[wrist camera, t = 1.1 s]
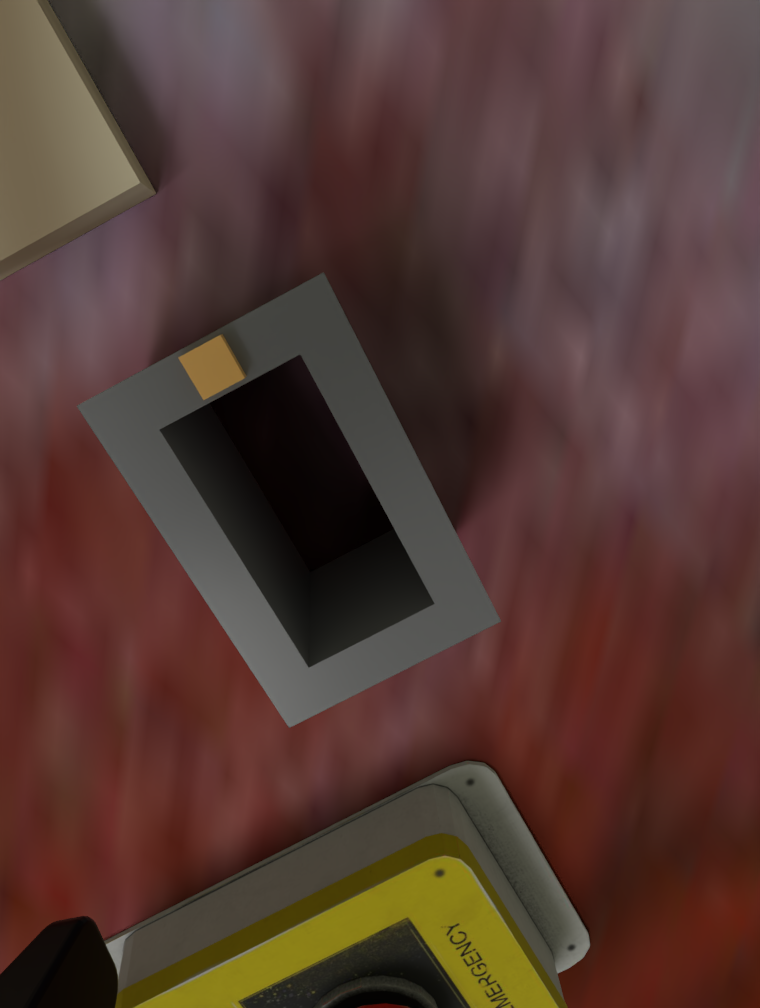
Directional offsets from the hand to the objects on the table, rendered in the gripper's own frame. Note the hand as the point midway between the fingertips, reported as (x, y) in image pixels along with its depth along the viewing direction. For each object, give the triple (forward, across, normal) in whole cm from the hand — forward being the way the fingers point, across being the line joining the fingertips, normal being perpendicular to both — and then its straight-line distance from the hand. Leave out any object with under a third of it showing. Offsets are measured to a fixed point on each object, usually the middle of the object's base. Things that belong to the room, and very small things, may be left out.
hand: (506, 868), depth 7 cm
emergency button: (+11, +6, +14) cm, 19 cm away
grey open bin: (+11, +3, -2) cm, 12 cm away
